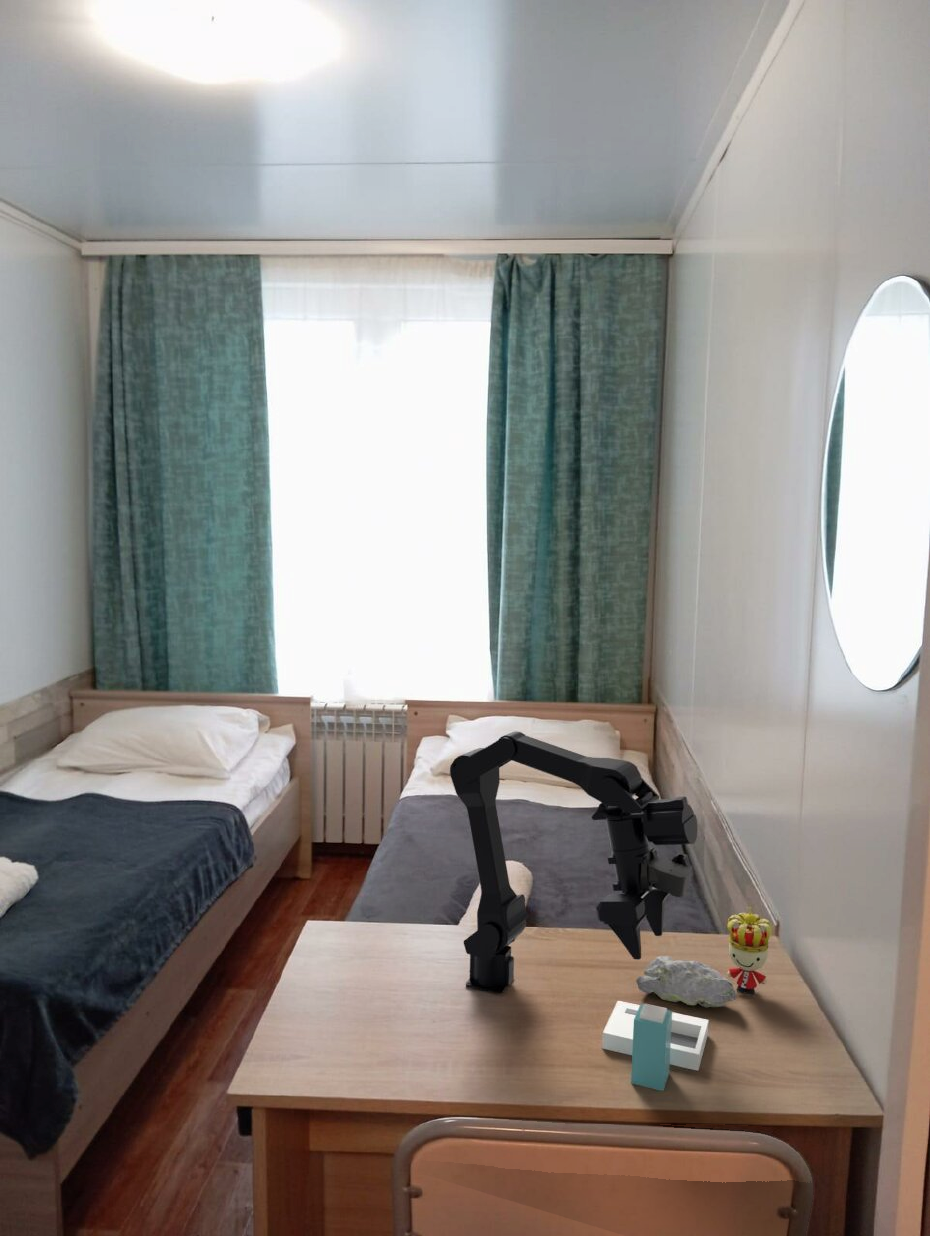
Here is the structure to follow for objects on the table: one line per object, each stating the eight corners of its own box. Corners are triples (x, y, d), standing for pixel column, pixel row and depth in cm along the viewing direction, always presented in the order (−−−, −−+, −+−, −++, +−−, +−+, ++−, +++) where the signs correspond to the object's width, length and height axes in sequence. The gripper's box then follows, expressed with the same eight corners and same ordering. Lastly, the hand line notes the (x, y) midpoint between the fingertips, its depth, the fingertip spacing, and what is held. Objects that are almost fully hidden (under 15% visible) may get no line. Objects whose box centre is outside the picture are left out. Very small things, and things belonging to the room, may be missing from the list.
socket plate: (602, 1048, 141) (602, 1031, 141) (617, 1015, 150) (617, 999, 150) (698, 1070, 136) (699, 1053, 136) (707, 1035, 145) (708, 1019, 145)
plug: (631, 1083, 133) (634, 1015, 132) (637, 1065, 137) (640, 1000, 136) (663, 1091, 131) (666, 1022, 130) (669, 1073, 135) (672, 1006, 134)
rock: (741, 1001, 156) (744, 962, 155) (733, 1021, 150) (735, 981, 149) (648, 978, 163) (650, 941, 162) (636, 997, 156) (638, 958, 156)
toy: (720, 996, 157) (725, 909, 155) (726, 976, 164) (731, 893, 162) (766, 1005, 154) (771, 917, 153) (769, 985, 161) (775, 900, 159)
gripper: (659, 863, 132) (679, 974, 132) (699, 826, 148) (717, 925, 148) (586, 865, 138) (606, 971, 138) (633, 829, 154) (650, 924, 154)
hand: (648, 947), depth 144 cm, fingers open, 9 cm apart
